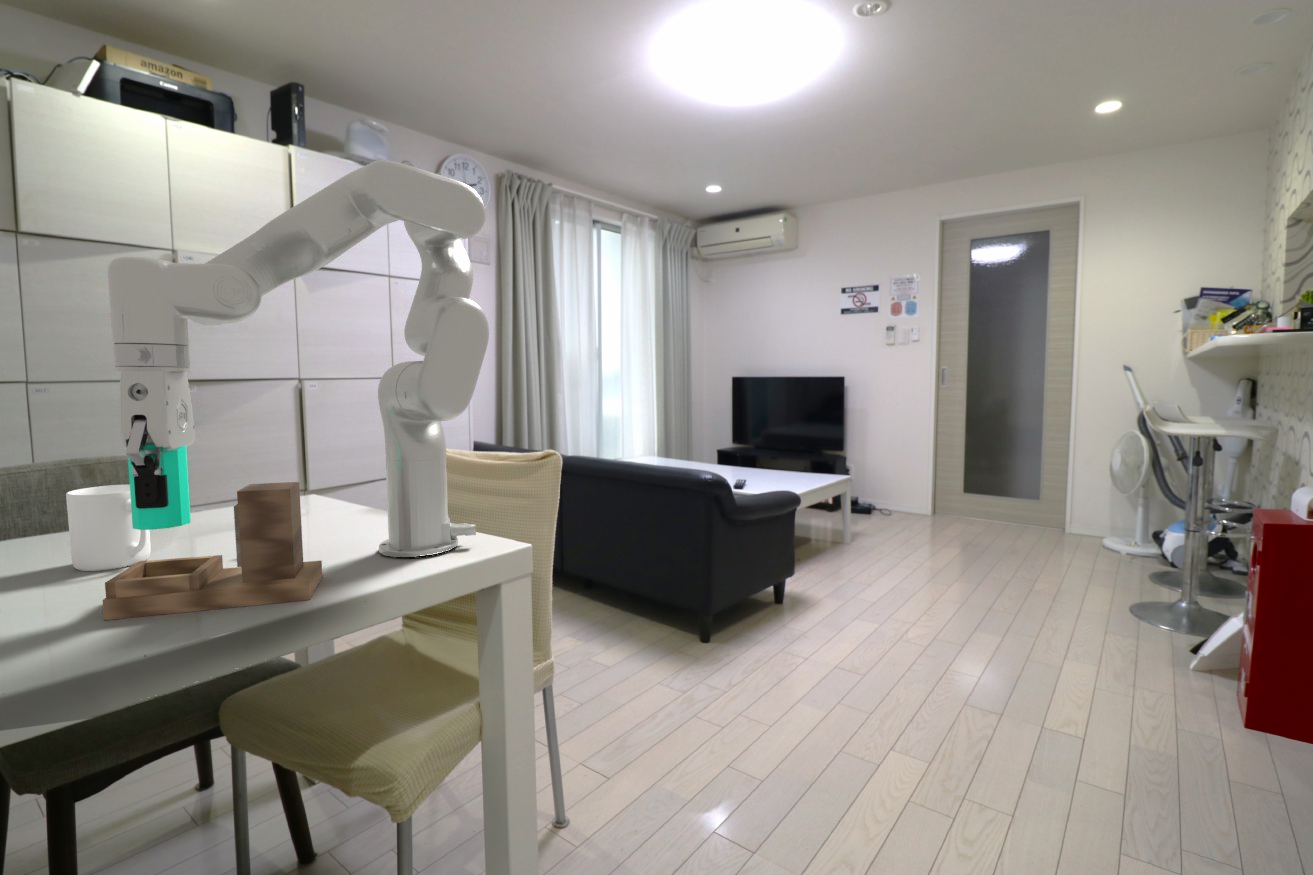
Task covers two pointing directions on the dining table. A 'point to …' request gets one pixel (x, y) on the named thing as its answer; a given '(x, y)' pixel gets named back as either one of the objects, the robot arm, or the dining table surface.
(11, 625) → the dining table surface
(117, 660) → the dining table surface
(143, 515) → the candle
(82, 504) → the mug
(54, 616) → the dining table surface
